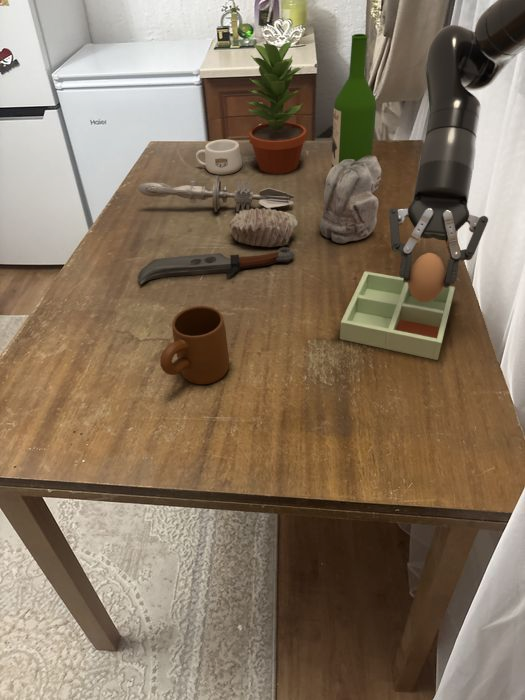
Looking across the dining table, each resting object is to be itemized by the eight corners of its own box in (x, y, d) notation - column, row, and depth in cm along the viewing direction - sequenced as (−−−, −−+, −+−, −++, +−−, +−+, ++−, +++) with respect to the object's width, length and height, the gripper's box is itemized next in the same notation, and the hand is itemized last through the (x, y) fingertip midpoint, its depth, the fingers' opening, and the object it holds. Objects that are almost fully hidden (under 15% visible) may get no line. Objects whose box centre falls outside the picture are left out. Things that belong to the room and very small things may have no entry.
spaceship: (141, 169, 123) (133, 169, 115) (294, 180, 123) (296, 181, 115) (141, 205, 125) (133, 207, 118) (291, 216, 125) (292, 219, 118)
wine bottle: (325, 186, 130) (330, 33, 109) (360, 181, 131) (372, 28, 110) (337, 202, 123) (345, 42, 102) (374, 196, 124) (389, 37, 103)
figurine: (385, 233, 112) (394, 162, 102) (344, 250, 107) (349, 178, 97) (352, 215, 118) (357, 147, 108) (312, 231, 113) (313, 161, 104)
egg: (440, 291, 82) (449, 246, 77) (440, 311, 79) (450, 265, 73) (406, 288, 83) (412, 243, 78) (404, 308, 80) (411, 262, 74)
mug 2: (243, 160, 144) (242, 137, 140) (241, 175, 137) (239, 151, 133) (199, 161, 145) (196, 139, 141) (194, 176, 138) (191, 153, 134)
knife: (297, 267, 99) (134, 279, 99) (297, 277, 101) (137, 289, 100) (292, 243, 106) (139, 254, 105) (292, 253, 107) (142, 264, 107)
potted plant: (307, 154, 146) (308, 27, 126) (304, 177, 134) (305, 42, 115) (253, 154, 147) (246, 29, 128) (245, 177, 136) (236, 43, 116)
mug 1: (191, 412, 76) (181, 363, 70) (150, 393, 79) (138, 344, 73) (239, 362, 83) (234, 314, 77) (200, 347, 87) (193, 299, 80)
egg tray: (451, 303, 92) (455, 286, 90) (437, 360, 82) (441, 342, 79) (363, 287, 97) (364, 271, 95) (339, 339, 87) (340, 322, 84)
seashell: (301, 214, 113) (291, 186, 104) (302, 254, 111) (290, 229, 101) (236, 223, 117) (220, 197, 108) (235, 261, 115) (218, 239, 105)
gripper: (394, 154, 76) (374, 272, 75) (503, 161, 72) (483, 285, 72) (394, 175, 83) (376, 282, 82) (493, 182, 79) (475, 295, 79)
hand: (426, 283), depth 77 cm, fingers closed on egg, 5 cm apart
